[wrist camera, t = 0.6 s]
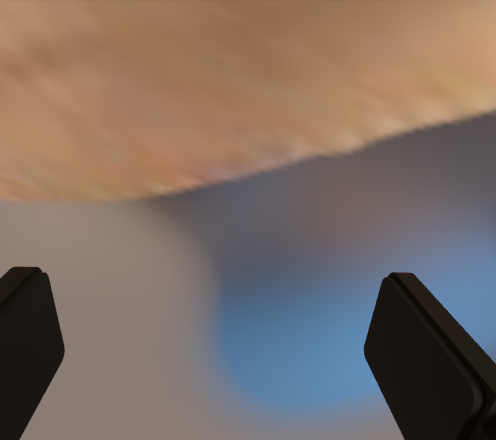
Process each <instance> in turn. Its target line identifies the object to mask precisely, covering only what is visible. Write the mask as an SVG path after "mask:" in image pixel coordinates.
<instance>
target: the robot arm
mask: <svg viewBox="0 0 496 440" xmlns="http://www.w3.org/2000/svg"><path fill="white" fill-rule="evenodd" d="M64 351H65V350H64V343H63V339H62V334H61V330H60V325H59V321H58V316H57V312H56V308H55V303H54V299H53V294H52V290H51V285H50V281H49V277H48V275H47V273H42V271H41V269H40V268H38V267H13V268H11V269H10V270H9V271H8V272H7V273H6V274H4V275H3V276H2V277H1V278H0V440H19V439H20V438H21V435H22V434H23V432H24V430H25V428H26V426H27V425H28V423H29V421H30V419H31V417H32V415H33V414H34V412H35V410H36V408H37V406H38V404H39V403H40V401H41V399H42V397H43V395H44V394H45V392H46V390H47V388H48V386H49V384H50V383H51V381H52V379H53V377H54V375H55V373H56V371H57V370H58V368H59V366H60V364H61V362H62V360H63V357H64ZM364 355H365V358H366V361H367V363H368V365H369V367H370V369H371V371H372V373H373V375H374V377H375V379H376V381H377V383H378V385H379V387H380V390H381V392H382V394H383V396H384V398H385V400H386V402H387V404H388V406H389V408H390V410H391V412H392V414H393V416H394V418H395V421H396V422H397V425H398V427H399V429H400V431H401V433H402V435H403V437H404V439H405V440H496V364H495V363H494V362H493V360H492V359H491V358H490V357H489V356H488V355H487V354H486V353H485V352H484V350H483V349H482V348H481V347H480V346H479V345H478V344H477V343H476V342H475V341H474V340H473V338H471V336H470V335H469V334H468V333H467V332H466V331H465V330H464V329H463V327H462V326H461V325H459V323H458V322H457V321H456V320H455V319H454V318H453V317H452V315H451V314H450V313H449V312H448V311H447V310H446V309H445V308H444V307H443V305H442V304H441V303H440V302H439V301H438V300H437V299H436V298H435V297H434V296H433V294H432V293H431V292H430V291H429V290H428V289H427V288H426V287H425V286H424V285H423V284H422V282H421V281H420V280H419V279H418V278H417V277H416V276H415V275H414V274H413V273H397V272H396V273H395V272H392V273H390V274H389V275H388V277H385V278H384V279H383V280H382V283H381V287H380V291H379V294H378V298H377V301H376V305H375V309H374V312H373V316H372V319H371V323H370V327H369V331H368V334H367V338H366V341H365V345H364Z"/></svg>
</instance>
